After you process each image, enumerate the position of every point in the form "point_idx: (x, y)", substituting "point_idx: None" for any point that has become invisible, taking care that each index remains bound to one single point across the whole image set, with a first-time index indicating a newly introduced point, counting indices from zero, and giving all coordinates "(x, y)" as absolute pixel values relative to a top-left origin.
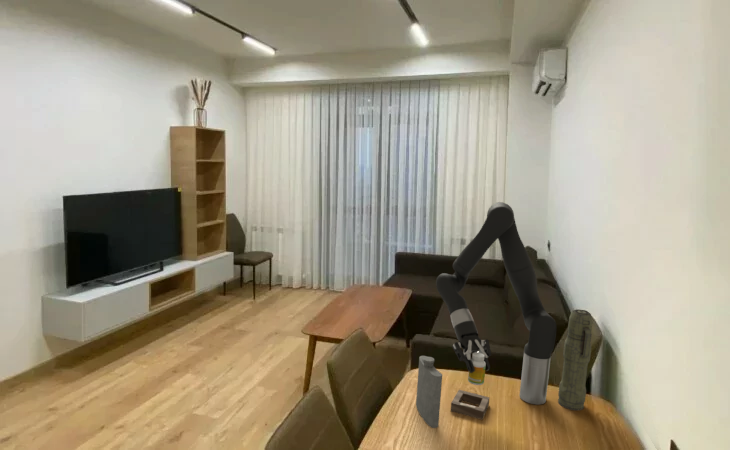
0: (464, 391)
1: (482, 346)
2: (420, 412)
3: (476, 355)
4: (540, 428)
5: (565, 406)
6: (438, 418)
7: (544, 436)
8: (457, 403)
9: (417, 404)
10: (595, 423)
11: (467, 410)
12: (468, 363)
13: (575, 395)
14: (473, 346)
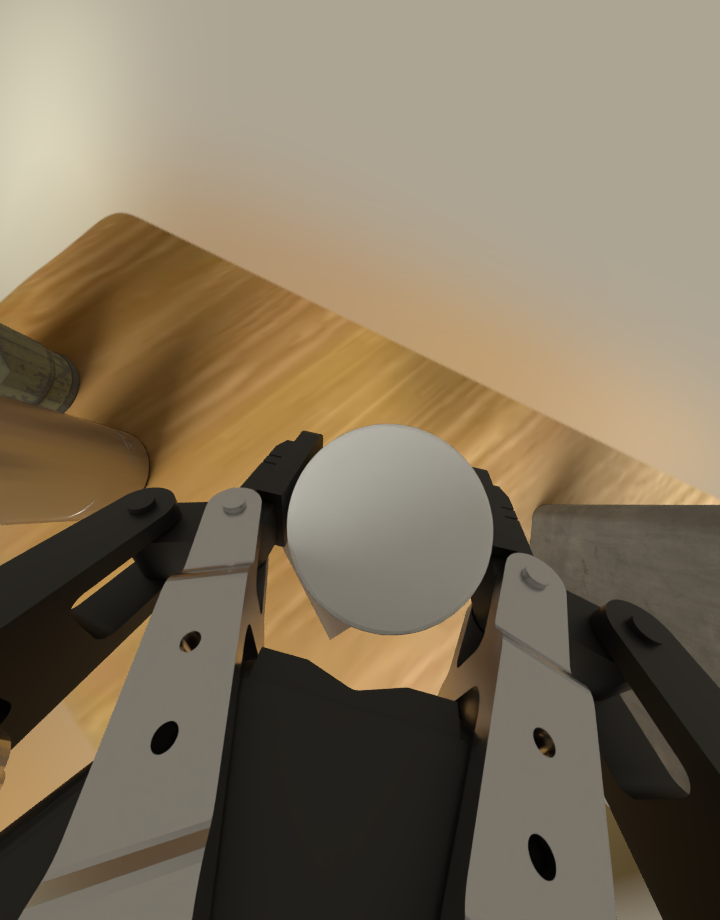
0: (321, 612)
1: (2, 770)
2: None
3: (447, 515)
4: (256, 349)
5: (74, 380)
6: (563, 506)
7: (283, 321)
8: None
9: None
10: (98, 294)
11: None
12: (523, 536)
13: (5, 329)
14: (334, 831)
